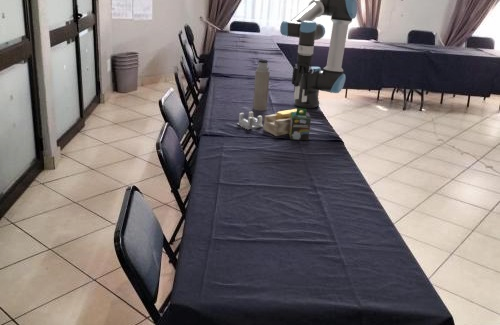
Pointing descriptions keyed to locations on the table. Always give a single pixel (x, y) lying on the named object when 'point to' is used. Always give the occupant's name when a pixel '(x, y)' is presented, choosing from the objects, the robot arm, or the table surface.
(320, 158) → the table surface
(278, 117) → the wooden block
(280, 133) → the beige channeled block
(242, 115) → the stand
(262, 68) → the thermos bottle
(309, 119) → the chalk box
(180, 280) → the table surface
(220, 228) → the table surface
